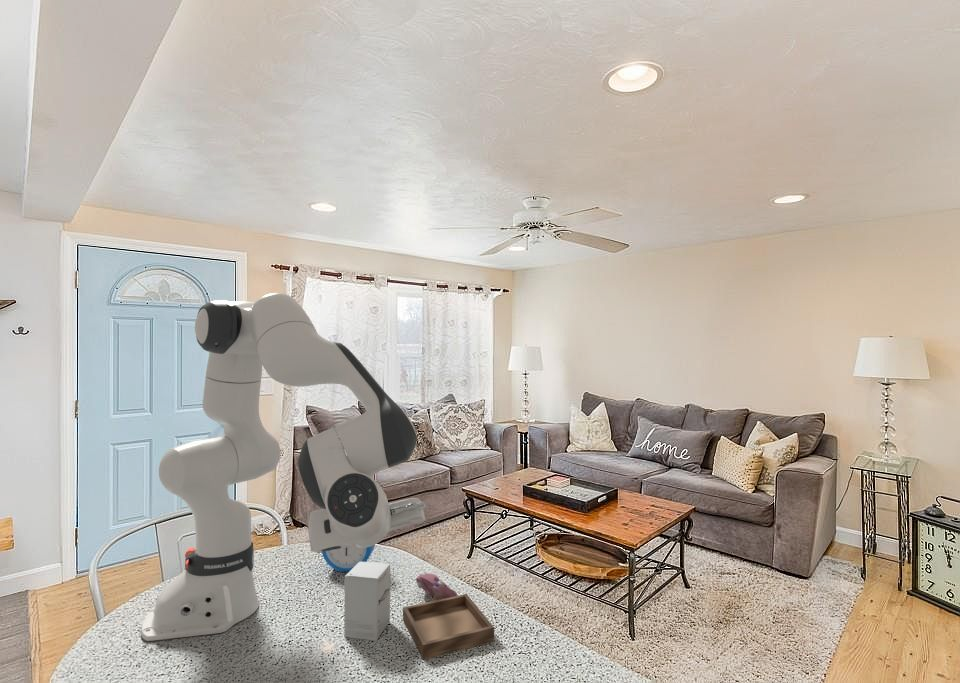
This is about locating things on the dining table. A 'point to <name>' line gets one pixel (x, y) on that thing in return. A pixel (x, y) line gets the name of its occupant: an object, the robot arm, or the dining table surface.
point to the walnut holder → (447, 626)
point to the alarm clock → (347, 557)
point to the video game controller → (434, 586)
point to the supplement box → (367, 600)
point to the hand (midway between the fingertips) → (371, 530)
